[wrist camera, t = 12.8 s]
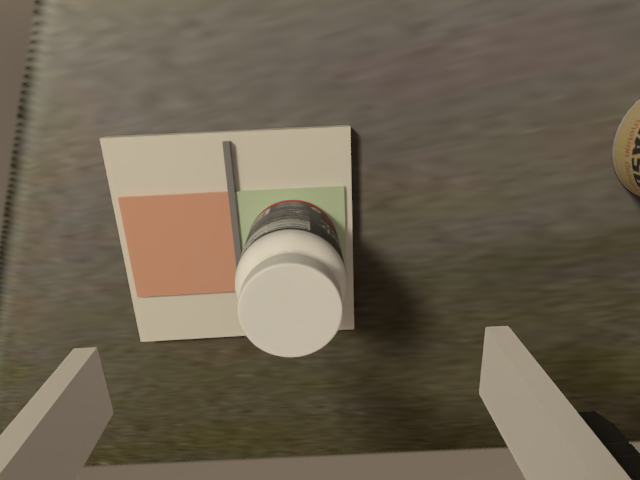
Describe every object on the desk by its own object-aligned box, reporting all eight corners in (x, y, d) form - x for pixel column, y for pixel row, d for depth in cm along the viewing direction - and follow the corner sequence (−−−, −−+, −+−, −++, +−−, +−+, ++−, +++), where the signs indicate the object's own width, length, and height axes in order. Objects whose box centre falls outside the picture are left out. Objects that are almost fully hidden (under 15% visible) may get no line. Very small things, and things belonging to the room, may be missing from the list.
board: (106, 136, 28) (95, 139, 26) (348, 124, 28) (351, 127, 27) (145, 334, 32) (138, 345, 31) (352, 322, 33) (355, 332, 31)
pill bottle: (344, 270, 30) (364, 356, 20) (261, 287, 30) (243, 380, 21) (327, 188, 28) (341, 240, 19) (239, 206, 28) (208, 268, 19)
